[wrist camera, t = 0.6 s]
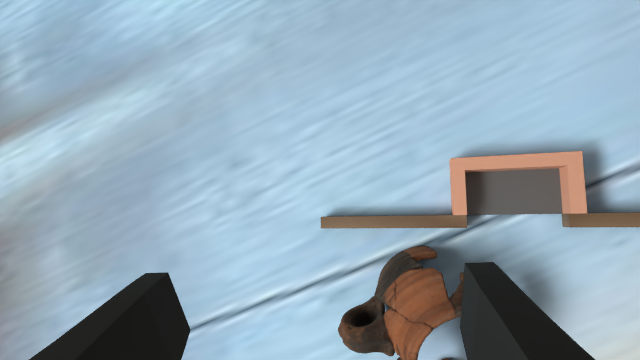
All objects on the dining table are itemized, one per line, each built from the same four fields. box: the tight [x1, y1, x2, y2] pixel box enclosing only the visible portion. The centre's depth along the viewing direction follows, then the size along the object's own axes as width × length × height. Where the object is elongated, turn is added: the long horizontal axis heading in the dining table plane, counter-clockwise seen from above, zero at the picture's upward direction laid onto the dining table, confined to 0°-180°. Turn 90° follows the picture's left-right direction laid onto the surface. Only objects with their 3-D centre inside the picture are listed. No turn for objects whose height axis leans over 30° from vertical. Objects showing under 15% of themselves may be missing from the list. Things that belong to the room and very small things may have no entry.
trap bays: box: [450, 151, 587, 215], centre depth 29 cm, size 25×16×2 cm, turn 1°
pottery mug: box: [338, 246, 464, 360], centre depth 29 cm, size 12×10×8 cm
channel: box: [321, 213, 640, 228], centre depth 27 cm, size 16×32×3 cm, turn 91°
